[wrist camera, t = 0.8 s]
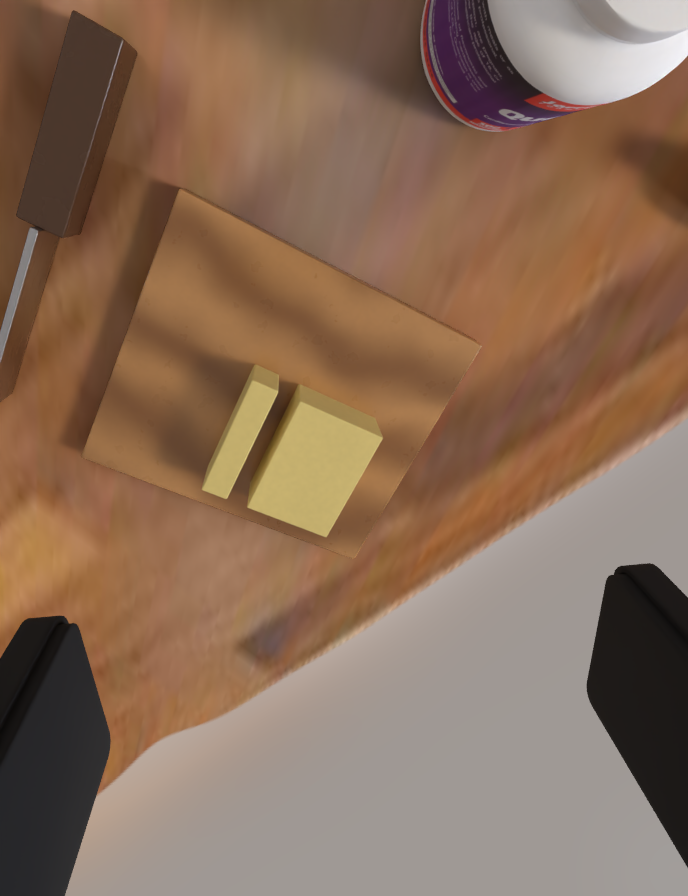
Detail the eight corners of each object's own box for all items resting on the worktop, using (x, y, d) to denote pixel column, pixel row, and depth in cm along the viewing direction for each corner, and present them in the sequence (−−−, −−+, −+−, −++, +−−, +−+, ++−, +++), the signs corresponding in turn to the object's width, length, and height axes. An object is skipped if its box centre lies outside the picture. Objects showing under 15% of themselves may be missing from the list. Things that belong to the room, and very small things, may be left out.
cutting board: (183, 187, 29) (178, 187, 28) (475, 339, 34) (482, 345, 33) (88, 447, 34) (80, 458, 33) (351, 547, 39) (354, 560, 38)
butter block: (298, 383, 32) (300, 400, 30) (375, 418, 34) (383, 438, 31) (249, 482, 35) (246, 507, 32) (323, 511, 36) (326, 537, 33)
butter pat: (254, 363, 32) (251, 379, 29) (279, 374, 32) (278, 391, 29) (207, 466, 34) (200, 490, 31) (231, 475, 34) (226, 500, 32)
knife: (91, 24, 26) (66, 4, 23) (138, 51, 27) (120, 35, 24) (-12, 384, 32) (-42, 403, 29) (28, 399, 33) (3, 420, 30)
